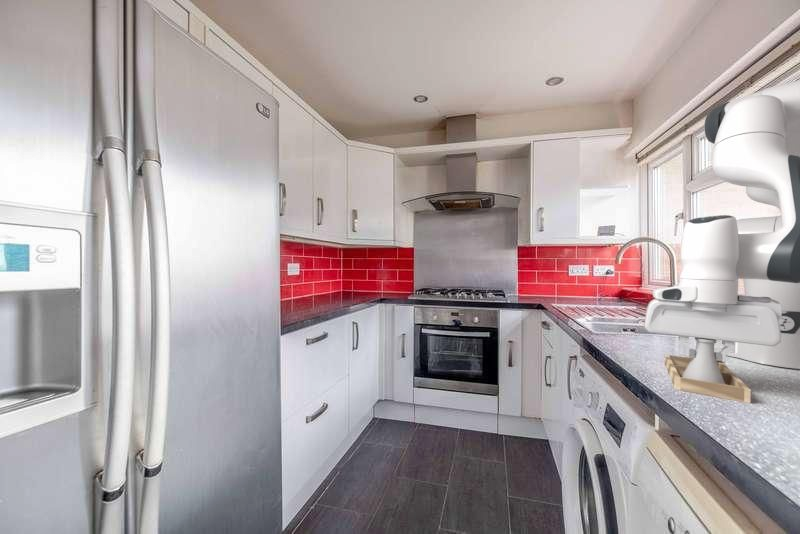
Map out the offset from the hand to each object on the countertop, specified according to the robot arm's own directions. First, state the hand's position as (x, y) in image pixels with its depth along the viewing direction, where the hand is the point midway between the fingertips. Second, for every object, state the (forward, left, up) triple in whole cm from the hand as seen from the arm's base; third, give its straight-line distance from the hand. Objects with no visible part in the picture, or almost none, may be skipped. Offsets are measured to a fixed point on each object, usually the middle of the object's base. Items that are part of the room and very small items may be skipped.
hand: (704, 359), depth 66 cm
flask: (0, 0, -6) cm, 6 cm away
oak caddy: (-5, 0, -6) cm, 8 cm away
